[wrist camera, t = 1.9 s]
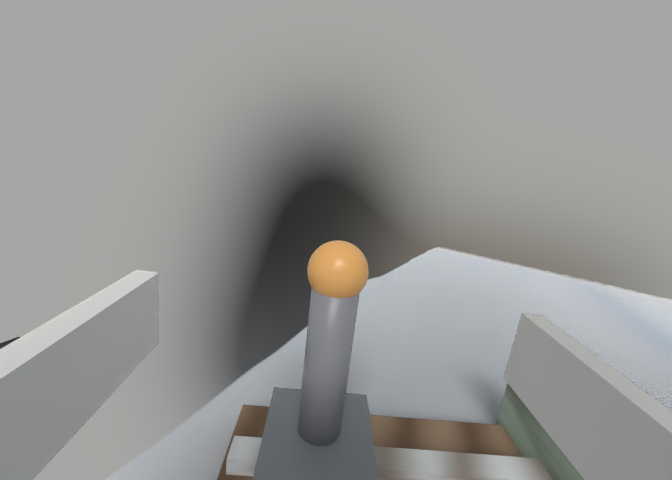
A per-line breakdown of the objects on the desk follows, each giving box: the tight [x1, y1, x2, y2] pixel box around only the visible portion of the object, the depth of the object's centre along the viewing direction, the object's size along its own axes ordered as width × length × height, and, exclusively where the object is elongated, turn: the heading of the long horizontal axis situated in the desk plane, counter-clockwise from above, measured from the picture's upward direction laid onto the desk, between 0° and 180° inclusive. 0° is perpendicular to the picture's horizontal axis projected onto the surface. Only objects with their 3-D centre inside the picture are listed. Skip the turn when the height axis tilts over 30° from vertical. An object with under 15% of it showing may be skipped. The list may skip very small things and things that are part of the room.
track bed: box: [217, 384, 584, 480], centre depth 26 cm, size 30×14×6 cm, turn 91°
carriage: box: [253, 241, 379, 480], centre depth 23 cm, size 8×8×18 cm
